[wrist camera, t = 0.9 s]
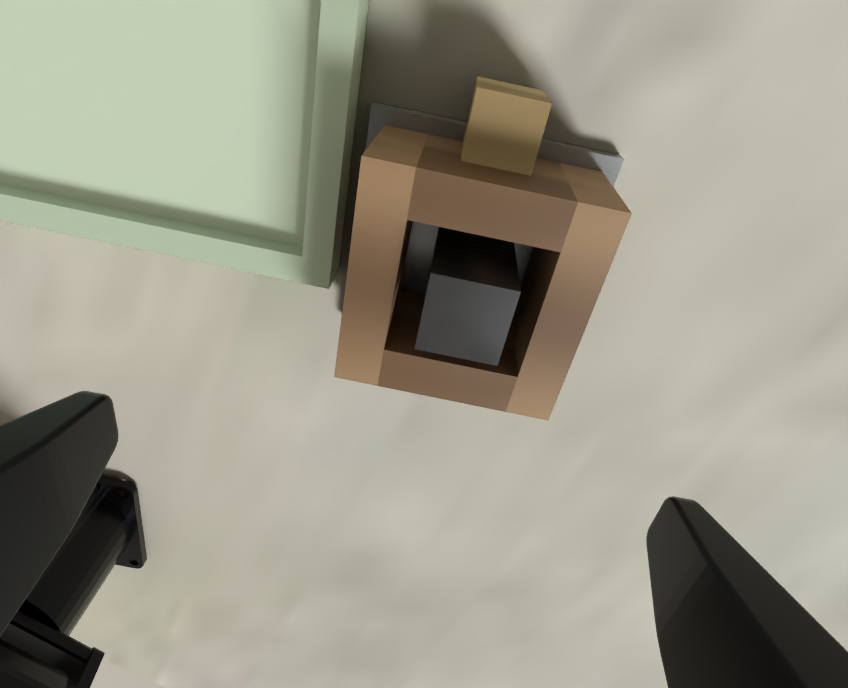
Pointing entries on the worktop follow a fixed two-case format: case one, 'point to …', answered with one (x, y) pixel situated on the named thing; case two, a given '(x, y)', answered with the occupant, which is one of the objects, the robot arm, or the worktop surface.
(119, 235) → the tray
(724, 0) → the worktop surface
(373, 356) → the wooden lantern frame
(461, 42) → the worktop surface
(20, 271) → the worktop surface
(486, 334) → the grey upright post
